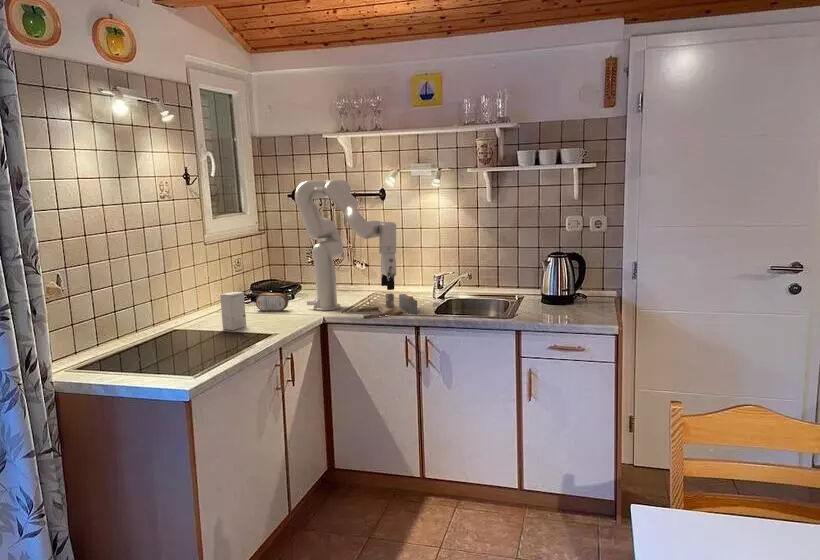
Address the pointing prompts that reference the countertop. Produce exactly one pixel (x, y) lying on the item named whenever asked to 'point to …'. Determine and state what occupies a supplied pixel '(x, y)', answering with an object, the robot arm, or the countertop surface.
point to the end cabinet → (407, 304)
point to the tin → (271, 302)
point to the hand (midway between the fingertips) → (387, 287)
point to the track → (376, 314)
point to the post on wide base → (389, 305)
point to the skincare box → (233, 310)
